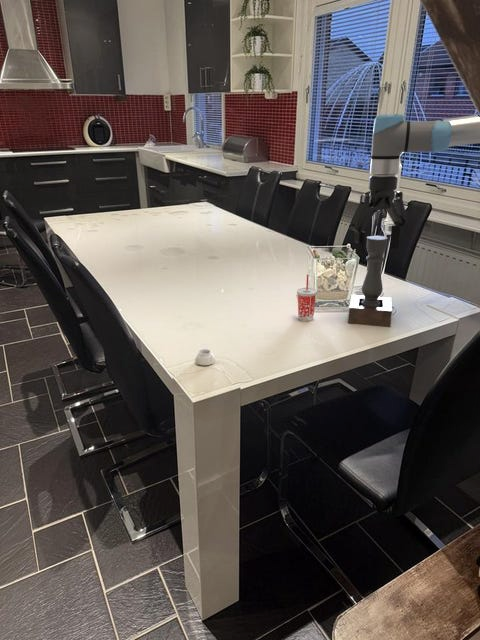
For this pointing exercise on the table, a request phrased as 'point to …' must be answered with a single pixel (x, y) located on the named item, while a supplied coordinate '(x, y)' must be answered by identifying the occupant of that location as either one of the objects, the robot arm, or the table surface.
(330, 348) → the table surface
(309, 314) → the beverage cup
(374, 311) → the block
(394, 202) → the robot arm
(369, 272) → the candle holder
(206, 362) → the white jar
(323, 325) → the table surface
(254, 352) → the table surface
